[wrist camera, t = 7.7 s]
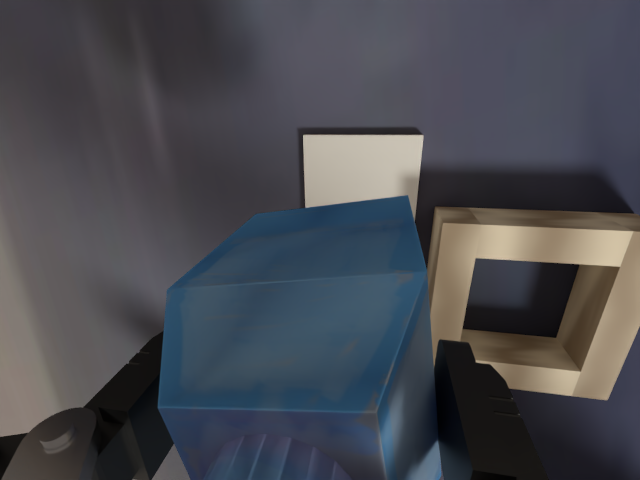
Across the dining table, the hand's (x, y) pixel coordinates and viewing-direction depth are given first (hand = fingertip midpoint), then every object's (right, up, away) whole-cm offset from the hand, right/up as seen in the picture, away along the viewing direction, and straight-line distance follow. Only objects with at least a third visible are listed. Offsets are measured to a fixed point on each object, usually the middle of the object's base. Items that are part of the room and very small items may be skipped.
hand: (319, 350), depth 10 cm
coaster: (+3, +7, +17) cm, 19 cm away
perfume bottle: (+1, +2, +5) cm, 5 cm away
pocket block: (+16, -1, +18) cm, 24 cm away
